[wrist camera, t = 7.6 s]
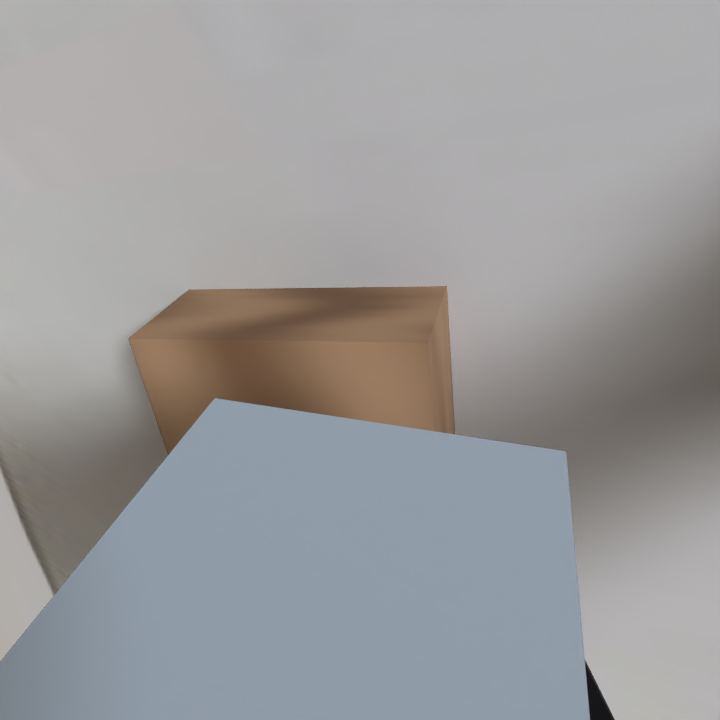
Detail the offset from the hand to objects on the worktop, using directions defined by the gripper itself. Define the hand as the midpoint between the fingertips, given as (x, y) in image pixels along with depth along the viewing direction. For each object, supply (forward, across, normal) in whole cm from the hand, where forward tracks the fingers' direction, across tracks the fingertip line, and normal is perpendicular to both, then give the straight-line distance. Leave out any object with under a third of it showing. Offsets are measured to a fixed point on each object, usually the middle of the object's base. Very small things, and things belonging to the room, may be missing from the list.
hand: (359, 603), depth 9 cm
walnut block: (+12, +4, +5) cm, 14 cm away
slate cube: (+1, 0, 0) cm, 1 cm away
